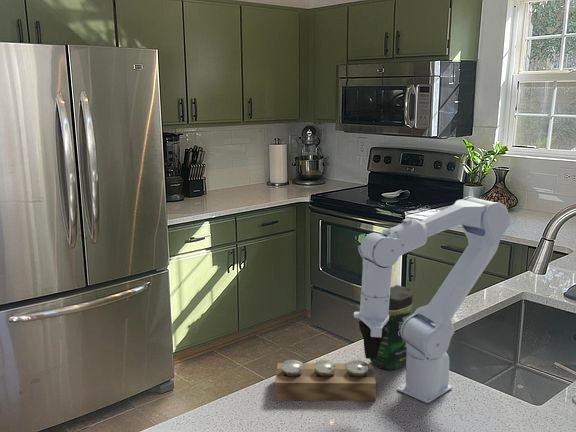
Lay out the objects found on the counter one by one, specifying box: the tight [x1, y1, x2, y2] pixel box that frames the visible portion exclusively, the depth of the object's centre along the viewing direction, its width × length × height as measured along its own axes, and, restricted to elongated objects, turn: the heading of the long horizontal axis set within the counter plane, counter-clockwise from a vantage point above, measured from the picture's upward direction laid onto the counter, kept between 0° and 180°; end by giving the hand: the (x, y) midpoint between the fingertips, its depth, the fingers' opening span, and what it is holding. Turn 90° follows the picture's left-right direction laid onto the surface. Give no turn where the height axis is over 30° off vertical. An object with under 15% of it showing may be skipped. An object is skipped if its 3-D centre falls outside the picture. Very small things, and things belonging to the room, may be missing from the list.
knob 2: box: [346, 359, 369, 377], centre depth 121 cm, size 4×4×6 cm
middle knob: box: [314, 359, 335, 377], centre depth 121 cm, size 4×4×6 cm
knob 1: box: [282, 359, 303, 377], centre depth 122 cm, size 4×4×6 cm
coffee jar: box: [369, 284, 414, 371], centre depth 132 cm, size 10×8×19 cm
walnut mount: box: [274, 362, 377, 402], centre depth 121 cm, size 21×9×4 cm, turn 87°
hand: (370, 357), depth 114 cm, fingers closed
